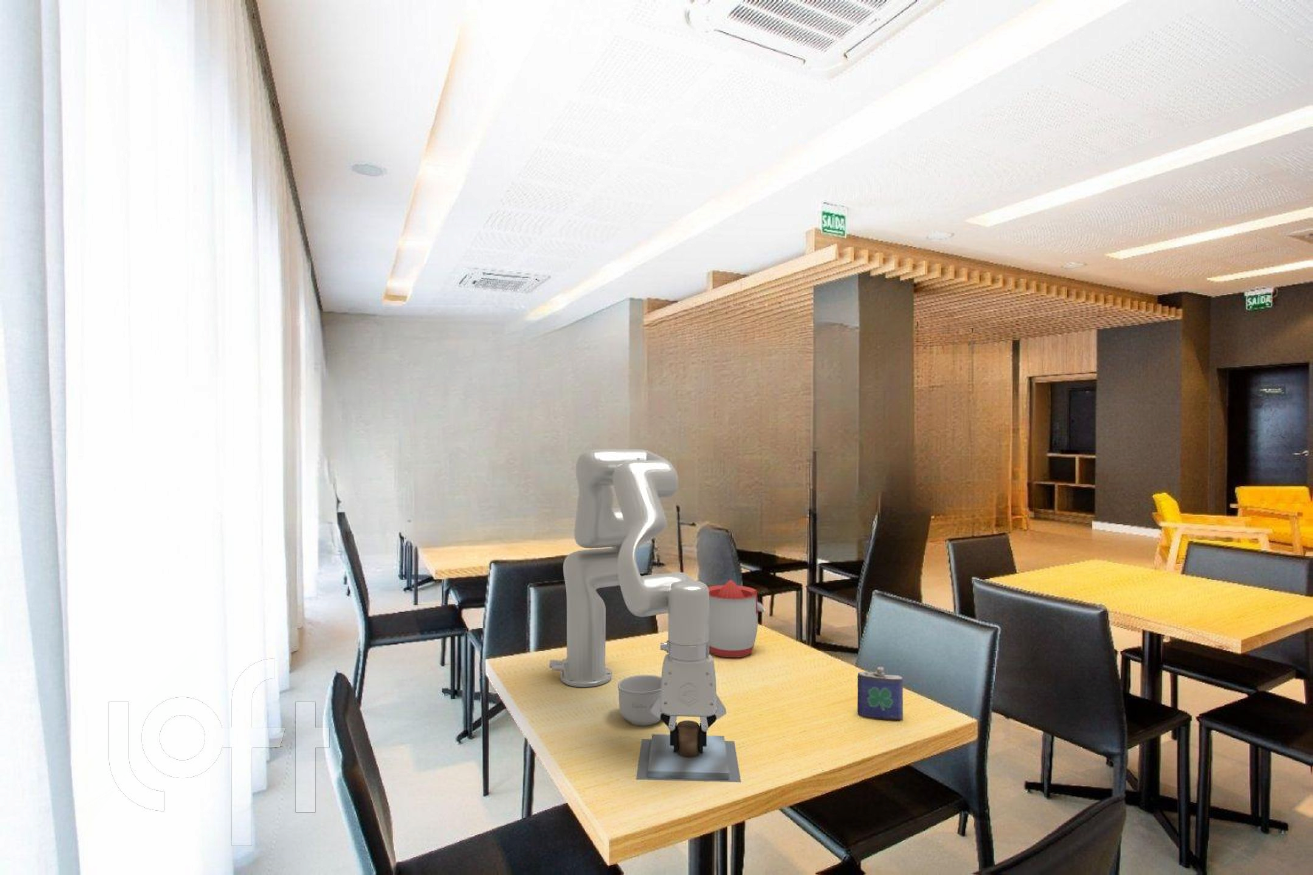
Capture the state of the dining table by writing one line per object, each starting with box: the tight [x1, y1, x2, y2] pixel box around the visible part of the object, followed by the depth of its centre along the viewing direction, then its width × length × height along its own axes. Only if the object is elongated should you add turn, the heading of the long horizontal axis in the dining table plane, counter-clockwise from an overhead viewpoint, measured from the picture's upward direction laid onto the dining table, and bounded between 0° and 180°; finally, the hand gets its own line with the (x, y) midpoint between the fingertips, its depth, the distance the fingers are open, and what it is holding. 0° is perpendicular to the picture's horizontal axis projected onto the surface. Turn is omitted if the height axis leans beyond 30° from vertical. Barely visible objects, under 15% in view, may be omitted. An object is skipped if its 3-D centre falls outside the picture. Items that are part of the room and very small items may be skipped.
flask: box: [857, 666, 904, 722], centre depth 137 cm, size 9×3×11 cm, turn 74°
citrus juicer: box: [707, 579, 766, 658], centre depth 179 cm, size 16×17×20 cm
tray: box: [635, 738, 742, 783], centre depth 118 cm, size 18×15×1 cm
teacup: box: [617, 674, 662, 726], centre depth 136 cm, size 14×11×8 cm
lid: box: [648, 719, 729, 780], centre depth 118 cm, size 14×14×6 cm
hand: (688, 748), depth 118 cm, fingers closed on lid, 4 cm apart
